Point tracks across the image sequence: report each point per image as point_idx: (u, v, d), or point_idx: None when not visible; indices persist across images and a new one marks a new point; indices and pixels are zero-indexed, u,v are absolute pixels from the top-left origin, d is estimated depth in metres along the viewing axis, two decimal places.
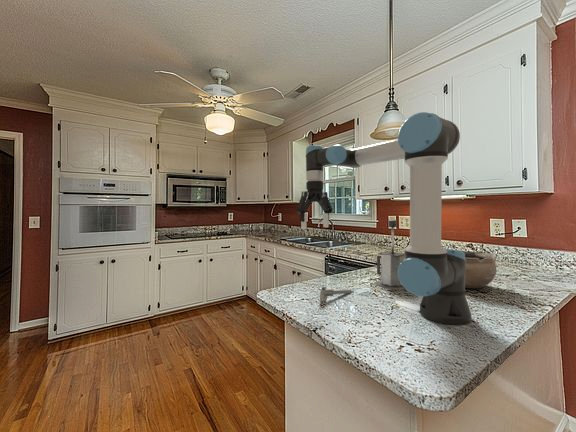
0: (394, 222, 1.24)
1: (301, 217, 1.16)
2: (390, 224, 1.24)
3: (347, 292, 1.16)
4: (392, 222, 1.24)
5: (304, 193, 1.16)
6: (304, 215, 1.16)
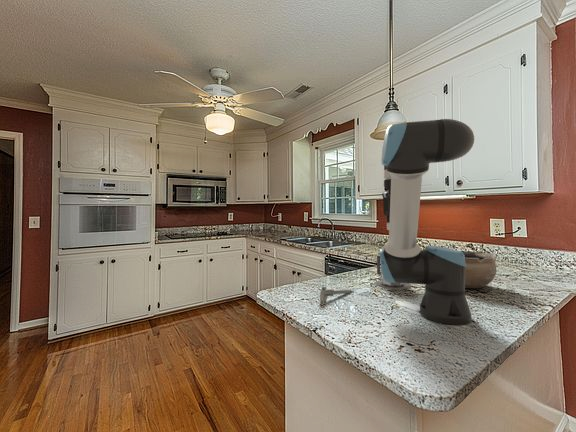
0: None
1: (388, 218, 1.23)
2: None
3: (347, 292, 1.16)
4: None
5: (386, 195, 1.21)
6: None
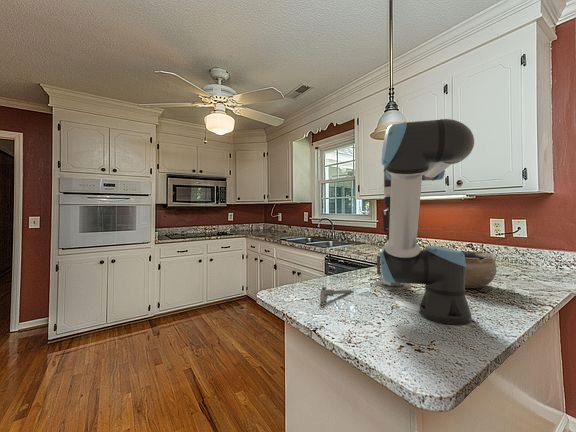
0: None
1: (388, 236, 1.23)
2: None
3: (347, 292, 1.16)
4: None
5: (386, 213, 1.21)
6: None
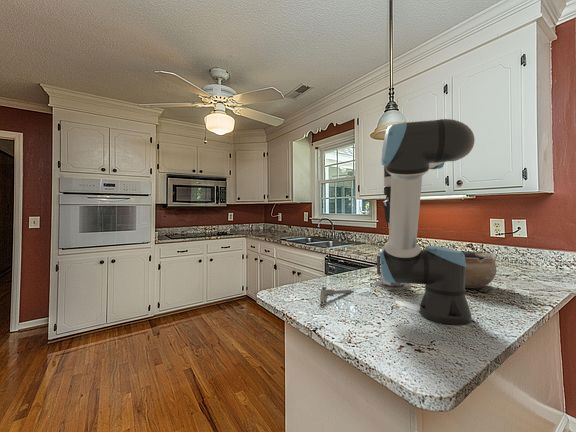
0: None
1: None
2: None
3: (347, 292, 1.16)
4: None
5: (386, 204, 1.21)
6: None
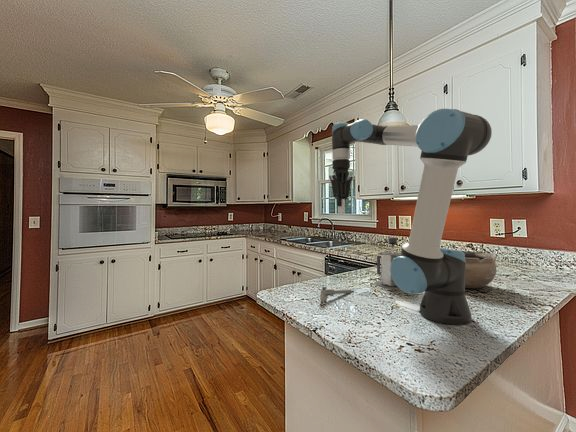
0: (394, 239, 1.24)
1: (338, 202, 1.17)
2: (390, 241, 1.25)
3: (347, 292, 1.16)
4: (392, 239, 1.24)
5: (333, 177, 1.14)
6: (341, 200, 1.17)
